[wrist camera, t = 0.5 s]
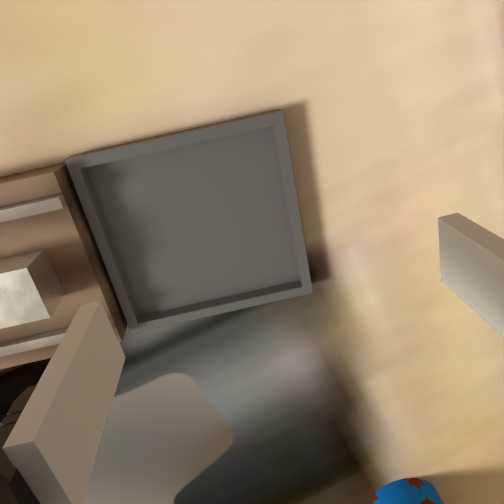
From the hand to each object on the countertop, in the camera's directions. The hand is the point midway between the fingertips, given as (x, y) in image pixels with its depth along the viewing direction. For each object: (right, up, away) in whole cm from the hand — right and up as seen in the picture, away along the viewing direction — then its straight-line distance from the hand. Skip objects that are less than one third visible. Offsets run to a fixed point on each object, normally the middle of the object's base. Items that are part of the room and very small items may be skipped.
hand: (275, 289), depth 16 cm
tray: (-6, +4, +27) cm, 28 cm away
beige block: (-22, -1, +23) cm, 32 cm away
